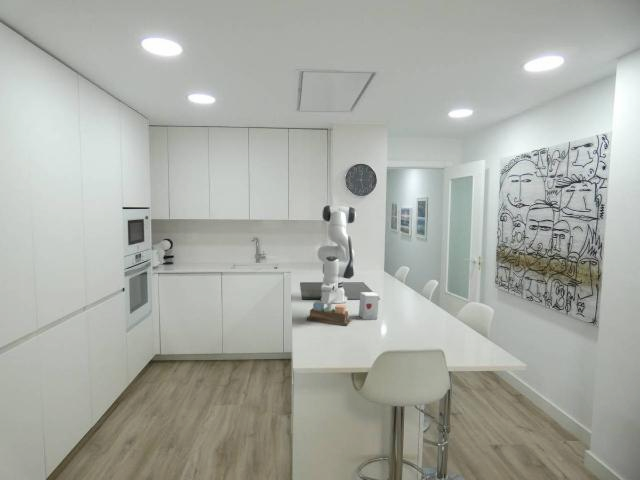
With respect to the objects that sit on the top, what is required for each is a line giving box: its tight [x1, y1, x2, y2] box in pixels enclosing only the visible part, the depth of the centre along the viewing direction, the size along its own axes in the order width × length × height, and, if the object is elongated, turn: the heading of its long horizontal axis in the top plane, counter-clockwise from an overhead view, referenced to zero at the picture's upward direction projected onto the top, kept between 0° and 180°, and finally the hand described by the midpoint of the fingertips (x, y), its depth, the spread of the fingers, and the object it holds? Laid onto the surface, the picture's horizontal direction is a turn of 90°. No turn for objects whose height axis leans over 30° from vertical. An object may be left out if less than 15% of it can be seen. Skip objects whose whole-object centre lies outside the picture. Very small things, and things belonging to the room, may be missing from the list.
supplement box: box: [358, 291, 380, 321], centre depth 241 cm, size 9×9×15 cm
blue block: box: [312, 301, 325, 311], centre depth 232 cm, size 5×5×5 cm
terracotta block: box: [334, 304, 347, 314], centre depth 228 cm, size 5×5×5 cm
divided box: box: [305, 307, 352, 327], centre depth 230 cm, size 10×24×6 cm, turn 73°
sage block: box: [324, 307, 335, 313], centre depth 230 cm, size 5×5×5 cm
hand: (329, 308), depth 230 cm, fingers closed
